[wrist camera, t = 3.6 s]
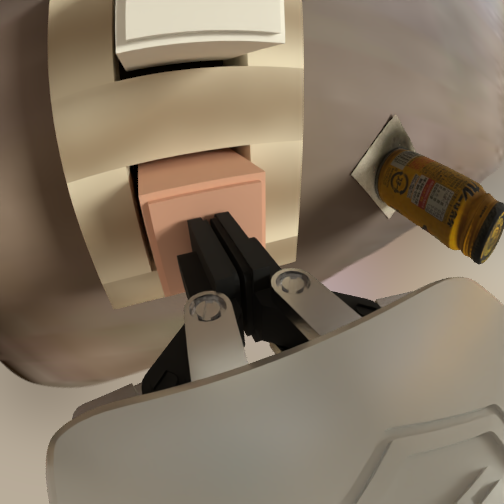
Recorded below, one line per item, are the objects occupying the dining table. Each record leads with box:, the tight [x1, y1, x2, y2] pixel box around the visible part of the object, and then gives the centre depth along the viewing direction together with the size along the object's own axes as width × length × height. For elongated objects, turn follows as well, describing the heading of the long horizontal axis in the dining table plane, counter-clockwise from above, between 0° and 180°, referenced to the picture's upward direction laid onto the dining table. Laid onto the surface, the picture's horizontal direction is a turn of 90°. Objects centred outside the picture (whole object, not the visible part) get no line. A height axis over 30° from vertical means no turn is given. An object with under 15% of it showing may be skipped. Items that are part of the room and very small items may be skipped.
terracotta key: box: [138, 147, 266, 297], centre depth 14 cm, size 5×5×6 cm
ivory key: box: [115, 0, 285, 72], centre depth 7 cm, size 5×5×6 cm
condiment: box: [351, 114, 504, 264], centre depth 18 cm, size 7×8×12 cm
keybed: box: [48, 0, 304, 309], centre depth 12 cm, size 20×12×4 cm, turn 2°
